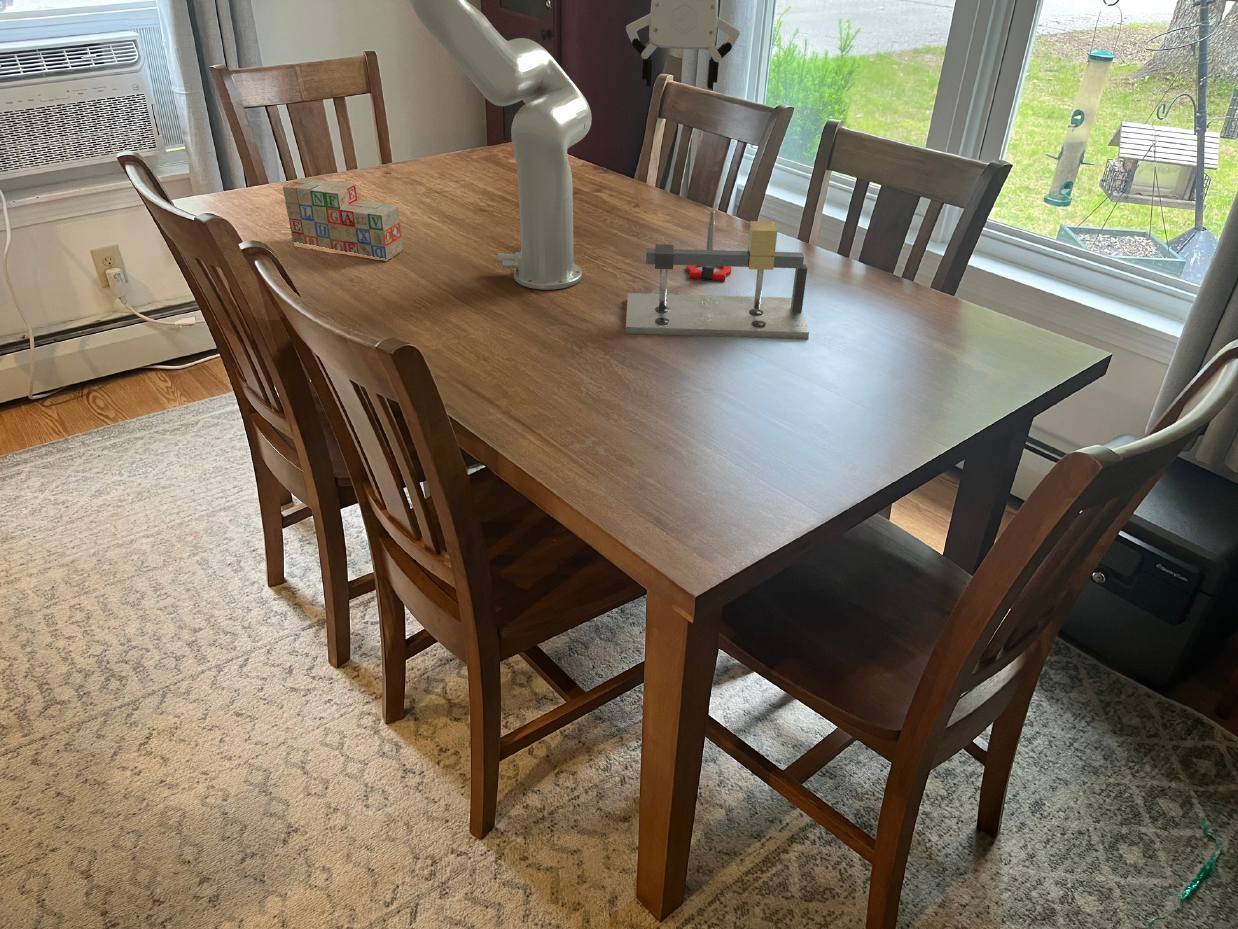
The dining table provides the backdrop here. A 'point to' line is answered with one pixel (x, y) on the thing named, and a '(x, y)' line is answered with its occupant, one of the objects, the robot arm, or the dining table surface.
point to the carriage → (761, 252)
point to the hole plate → (714, 316)
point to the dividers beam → (669, 256)
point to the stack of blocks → (341, 219)
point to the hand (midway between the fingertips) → (679, 85)
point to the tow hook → (708, 271)
